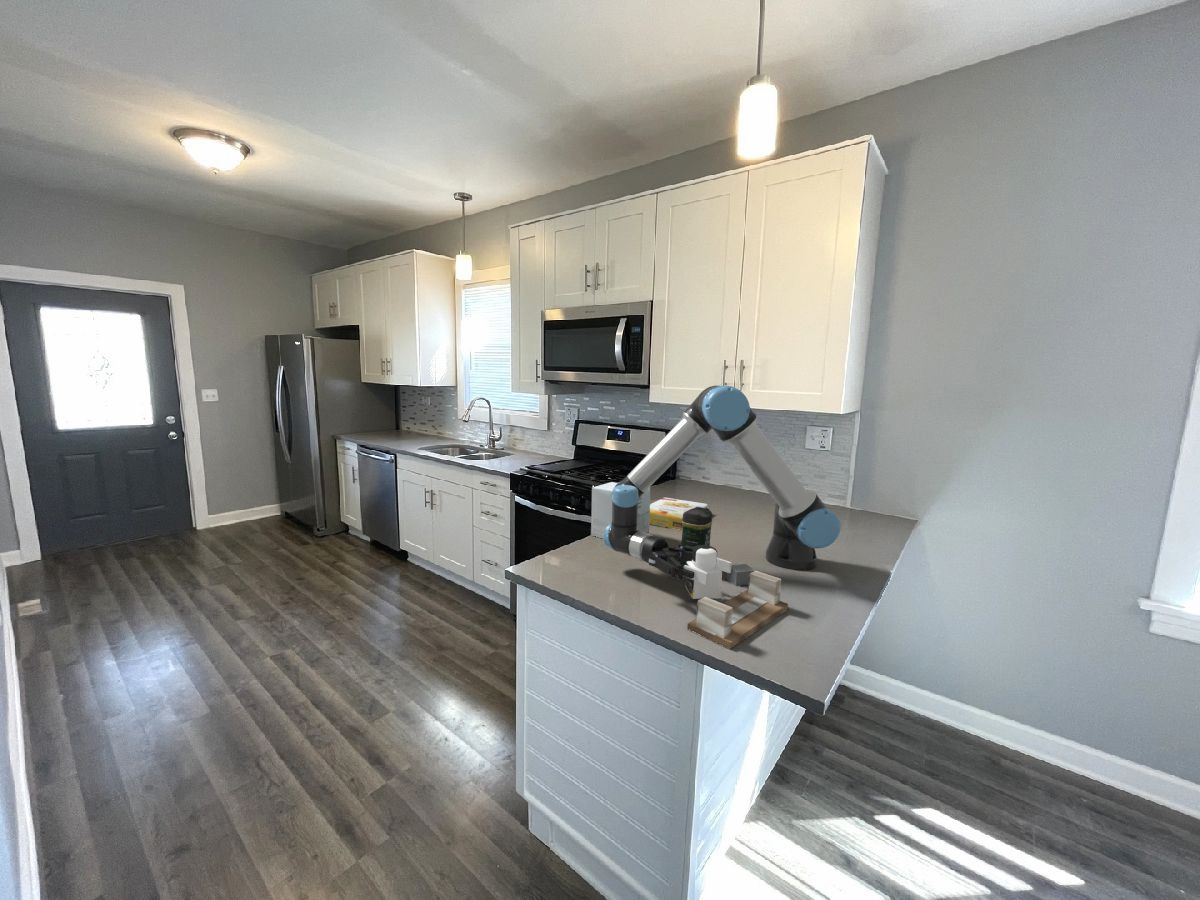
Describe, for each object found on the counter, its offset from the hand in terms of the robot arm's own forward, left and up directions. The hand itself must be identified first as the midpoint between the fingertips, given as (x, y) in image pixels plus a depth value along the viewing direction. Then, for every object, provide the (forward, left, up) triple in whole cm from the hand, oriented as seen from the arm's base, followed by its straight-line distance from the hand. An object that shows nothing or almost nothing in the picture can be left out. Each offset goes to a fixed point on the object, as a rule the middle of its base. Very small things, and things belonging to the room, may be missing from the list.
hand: (719, 573), depth 118 cm
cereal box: (-14, -78, -10) cm, 80 cm away
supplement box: (+13, -58, -10) cm, 60 cm away
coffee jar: (-4, -26, -10) cm, 28 cm away
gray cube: (-14, -16, -10) cm, 23 cm away
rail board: (-4, +5, -10) cm, 11 cm away
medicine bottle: (+2, -4, -7) cm, 8 cm away
